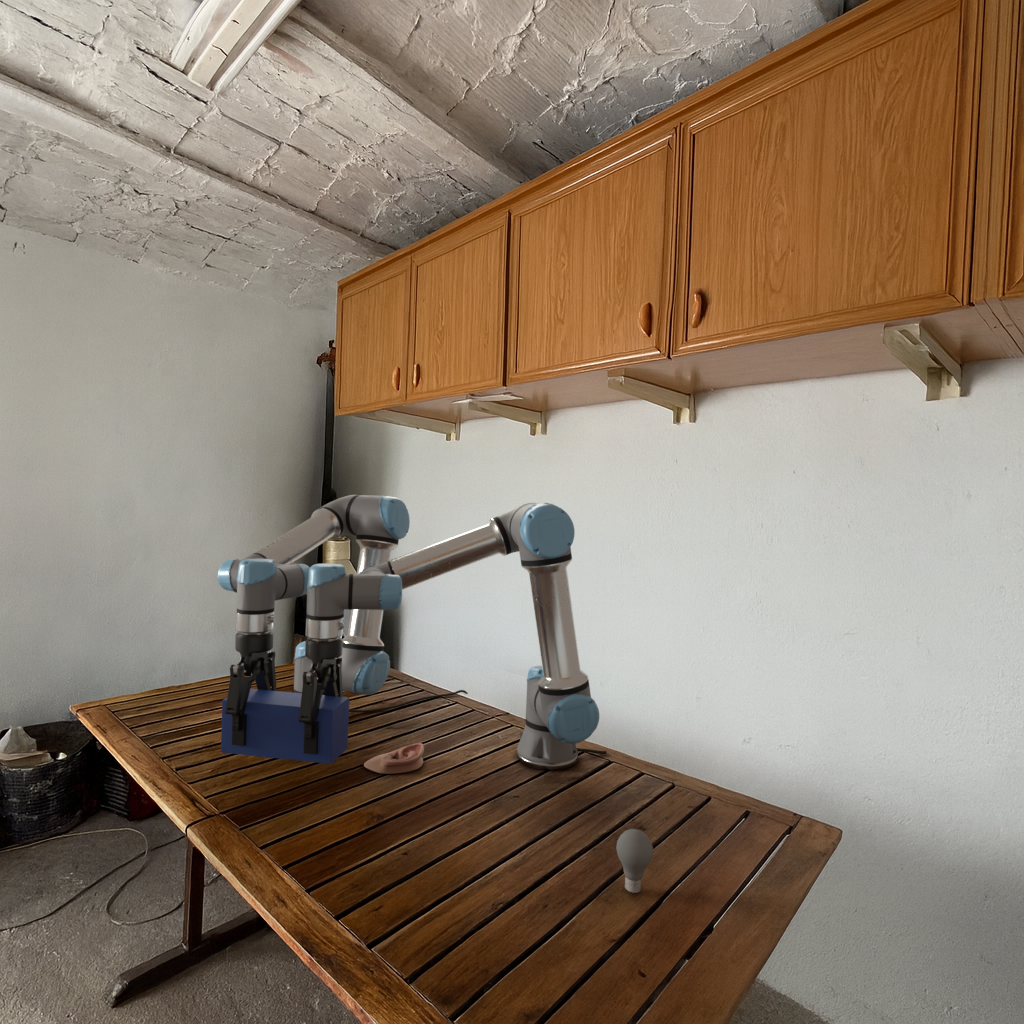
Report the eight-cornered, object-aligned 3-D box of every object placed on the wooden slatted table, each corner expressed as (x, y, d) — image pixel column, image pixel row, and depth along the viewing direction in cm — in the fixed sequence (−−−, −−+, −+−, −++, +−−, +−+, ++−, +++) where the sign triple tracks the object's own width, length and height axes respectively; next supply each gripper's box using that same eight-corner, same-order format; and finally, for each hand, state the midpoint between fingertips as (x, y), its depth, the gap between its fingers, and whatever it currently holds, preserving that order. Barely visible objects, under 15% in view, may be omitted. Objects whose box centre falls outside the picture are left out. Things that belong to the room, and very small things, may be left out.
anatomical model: (358, 753, 147) (378, 735, 158) (357, 770, 147) (378, 751, 158) (412, 760, 144) (429, 742, 155) (412, 778, 144) (428, 758, 155)
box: (220, 752, 132) (222, 699, 132) (243, 737, 140) (245, 688, 140) (331, 764, 129) (332, 709, 128) (347, 748, 137) (349, 697, 137)
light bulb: (610, 879, 108) (613, 822, 108) (644, 879, 109) (647, 822, 109) (619, 902, 102) (622, 840, 102) (655, 901, 103) (658, 840, 103)
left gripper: (242, 643, 124) (238, 758, 125) (295, 623, 145) (291, 721, 146) (207, 640, 125) (203, 754, 126) (265, 621, 146) (261, 718, 147)
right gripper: (318, 650, 122) (314, 767, 122) (361, 629, 143) (357, 728, 143) (281, 647, 123) (278, 763, 123) (329, 626, 144) (326, 725, 144)
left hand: (251, 736), depth 136 cm, fingers closed on box, 8 cm apart
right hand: (320, 744), depth 133 cm, fingers closed on box, 8 cm apart
